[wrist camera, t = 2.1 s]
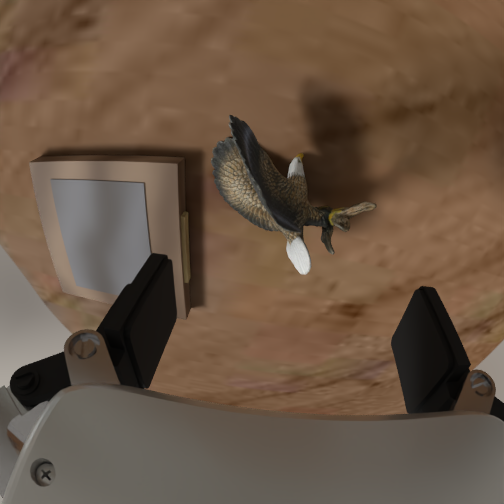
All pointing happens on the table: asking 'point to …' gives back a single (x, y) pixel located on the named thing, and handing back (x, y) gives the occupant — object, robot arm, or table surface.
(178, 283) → the wooden picture frame
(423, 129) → the table surface
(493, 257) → the table surface
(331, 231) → the eagle figurine
